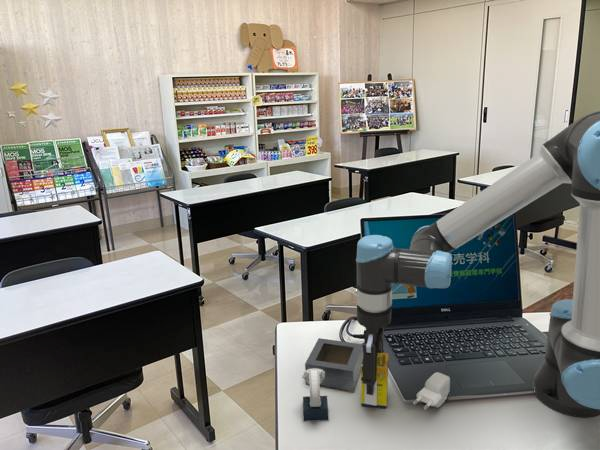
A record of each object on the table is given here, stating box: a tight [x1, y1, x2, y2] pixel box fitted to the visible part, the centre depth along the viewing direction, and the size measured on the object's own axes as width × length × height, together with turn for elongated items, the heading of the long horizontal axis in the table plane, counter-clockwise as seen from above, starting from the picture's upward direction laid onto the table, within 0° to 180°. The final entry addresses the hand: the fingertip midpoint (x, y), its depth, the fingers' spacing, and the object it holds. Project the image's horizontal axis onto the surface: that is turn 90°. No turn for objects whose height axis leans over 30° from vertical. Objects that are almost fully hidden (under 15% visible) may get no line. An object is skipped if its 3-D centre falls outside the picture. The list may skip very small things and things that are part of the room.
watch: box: [301, 369, 329, 422], centre depth 106 cm, size 6×8×11 cm
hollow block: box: [304, 337, 363, 393], centre depth 120 cm, size 12×12×6 cm
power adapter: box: [412, 371, 451, 411], centre depth 107 cm, size 11×5×6 cm, turn 137°
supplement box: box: [360, 352, 389, 409], centre depth 109 cm, size 6×6×11 cm
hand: (373, 393), depth 111 cm, fingers closed on supplement box, 6 cm apart
